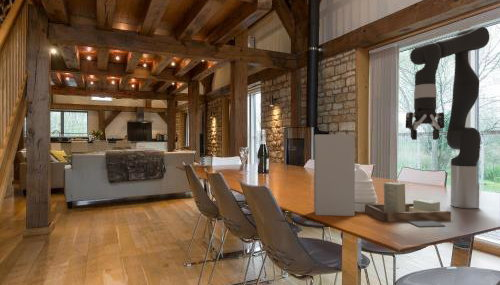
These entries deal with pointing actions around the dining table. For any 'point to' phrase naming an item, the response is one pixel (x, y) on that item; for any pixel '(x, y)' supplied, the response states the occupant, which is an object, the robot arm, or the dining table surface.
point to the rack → (405, 214)
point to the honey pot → (363, 189)
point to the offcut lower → (415, 210)
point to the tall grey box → (334, 175)
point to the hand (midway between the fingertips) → (424, 139)
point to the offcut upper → (426, 205)
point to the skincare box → (394, 197)
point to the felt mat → (425, 223)
